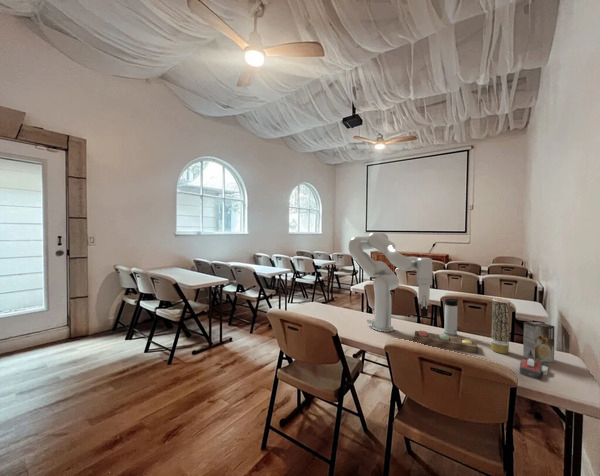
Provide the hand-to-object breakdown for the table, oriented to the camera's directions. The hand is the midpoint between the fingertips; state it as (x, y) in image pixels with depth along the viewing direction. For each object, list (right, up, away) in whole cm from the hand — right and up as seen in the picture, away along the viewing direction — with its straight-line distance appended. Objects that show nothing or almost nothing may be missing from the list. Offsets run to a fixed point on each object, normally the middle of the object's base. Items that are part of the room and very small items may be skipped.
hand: (424, 316), depth 144 cm
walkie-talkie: (+33, -15, -29) cm, 46 cm away
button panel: (+8, -13, -4) cm, 16 cm away
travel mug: (+20, -14, +11) cm, 26 cm away
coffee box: (+43, -14, -19) cm, 49 cm away
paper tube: (+31, -14, -11) cm, 36 cm away
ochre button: (+17, -13, -8) cm, 23 cm away
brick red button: (-1, -12, +1) cm, 12 cm away
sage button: (+8, -12, -4) cm, 15 cm away
